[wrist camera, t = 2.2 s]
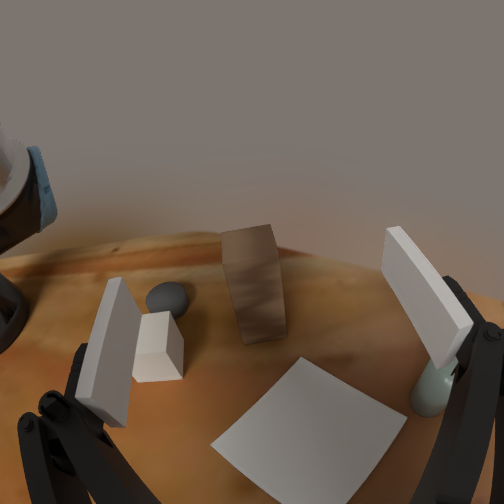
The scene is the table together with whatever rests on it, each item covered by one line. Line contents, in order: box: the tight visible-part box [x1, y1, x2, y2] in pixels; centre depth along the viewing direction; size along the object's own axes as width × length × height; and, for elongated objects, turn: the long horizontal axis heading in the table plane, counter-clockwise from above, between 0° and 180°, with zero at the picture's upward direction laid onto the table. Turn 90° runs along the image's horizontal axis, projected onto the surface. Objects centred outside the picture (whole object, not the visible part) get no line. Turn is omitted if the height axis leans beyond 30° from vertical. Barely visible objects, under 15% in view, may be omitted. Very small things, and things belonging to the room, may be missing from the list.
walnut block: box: [221, 224, 287, 345], centre depth 29 cm, size 4×4×11 cm
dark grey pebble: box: [146, 282, 189, 320], centre depth 36 cm, size 5×5×2 cm
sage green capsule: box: [410, 356, 458, 418], centre depth 20 cm, size 4×4×6 cm
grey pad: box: [211, 357, 408, 504], centre depth 22 cm, size 12×12×1 cm
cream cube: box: [132, 311, 184, 382], centre depth 29 cm, size 5×5×5 cm
